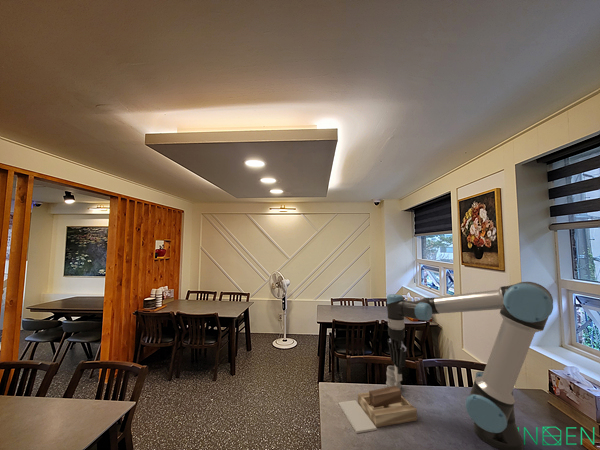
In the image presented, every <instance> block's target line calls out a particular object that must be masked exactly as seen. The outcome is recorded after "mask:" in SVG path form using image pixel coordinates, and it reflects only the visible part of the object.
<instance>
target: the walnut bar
mask: <svg viewBox="0 0 600 450" xmlns="http://www.w3.org/2000/svg"><path fill="white" fill-rule="evenodd" d="M368 392H369V397H370V403H371V404H372V406H373V407H374V408H377V407H381V406H386V405H390V404H395V403H399V402H402V398H401V395H402V389H401V390H400V389H399V388H398V387H397V386H391V387H387V386H386V387H382V388H377V389H373V390H369V391H368Z"/></svg>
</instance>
